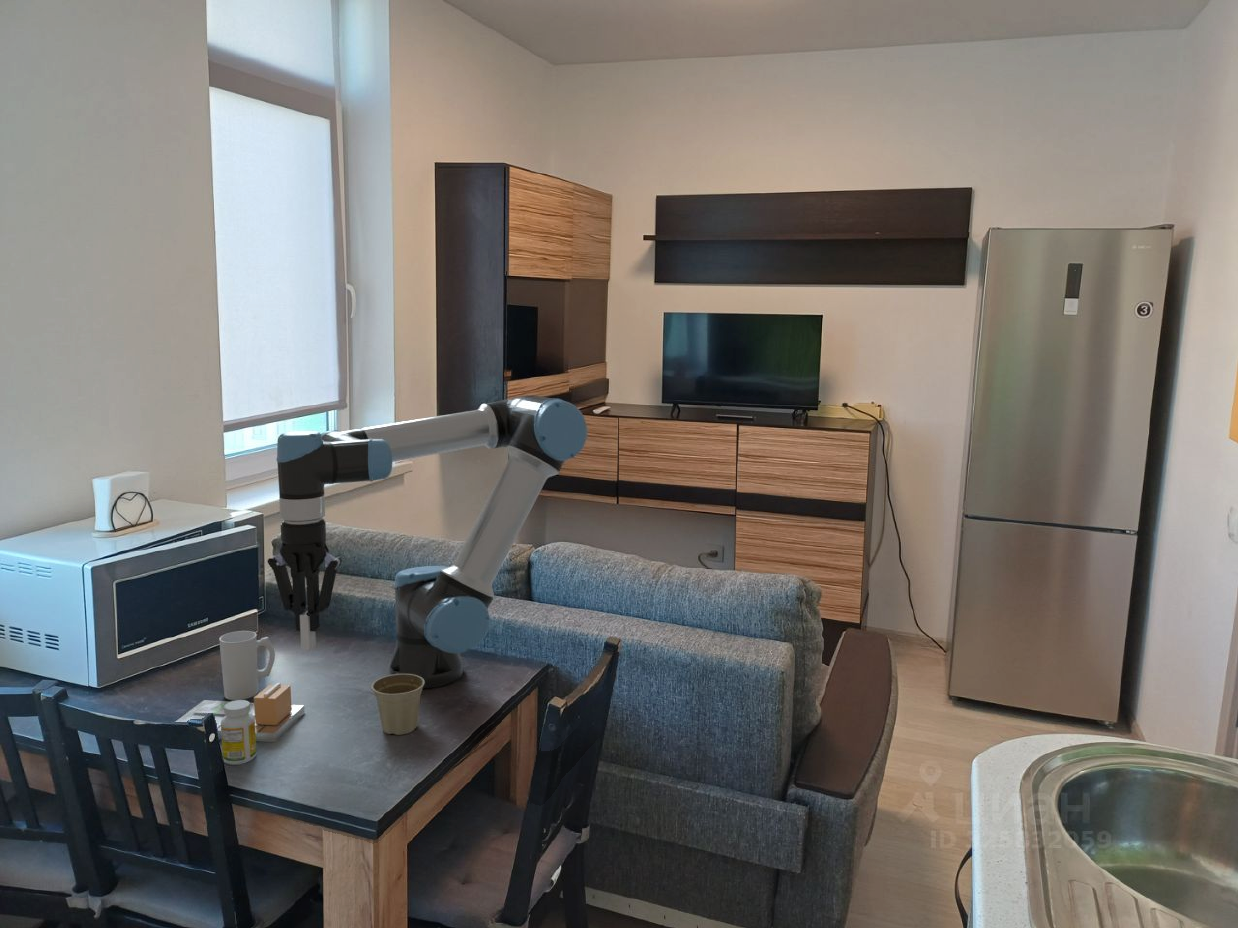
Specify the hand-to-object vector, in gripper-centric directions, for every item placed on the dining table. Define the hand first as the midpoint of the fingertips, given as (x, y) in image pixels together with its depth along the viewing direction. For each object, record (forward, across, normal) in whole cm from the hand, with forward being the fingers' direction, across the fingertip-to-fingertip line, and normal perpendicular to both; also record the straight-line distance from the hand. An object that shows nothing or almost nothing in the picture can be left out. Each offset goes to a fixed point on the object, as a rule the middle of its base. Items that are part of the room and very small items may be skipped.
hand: (308, 647), depth 164 cm
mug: (+16, +19, -14) cm, 29 cm away
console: (+16, +14, 0) cm, 21 cm away
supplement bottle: (+16, +7, +12) cm, 21 cm away
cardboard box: (+14, +7, 0) cm, 16 cm away
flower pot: (+16, -16, -2) cm, 22 cm away
